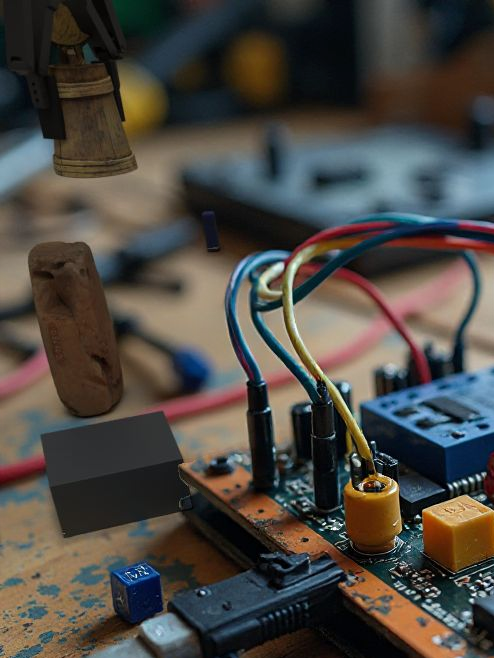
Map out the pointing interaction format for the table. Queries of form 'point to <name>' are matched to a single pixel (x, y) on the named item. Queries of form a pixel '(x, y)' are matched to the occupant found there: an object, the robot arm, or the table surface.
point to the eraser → (210, 230)
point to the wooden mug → (86, 109)
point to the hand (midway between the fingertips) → (85, 129)
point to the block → (75, 327)
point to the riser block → (113, 472)
